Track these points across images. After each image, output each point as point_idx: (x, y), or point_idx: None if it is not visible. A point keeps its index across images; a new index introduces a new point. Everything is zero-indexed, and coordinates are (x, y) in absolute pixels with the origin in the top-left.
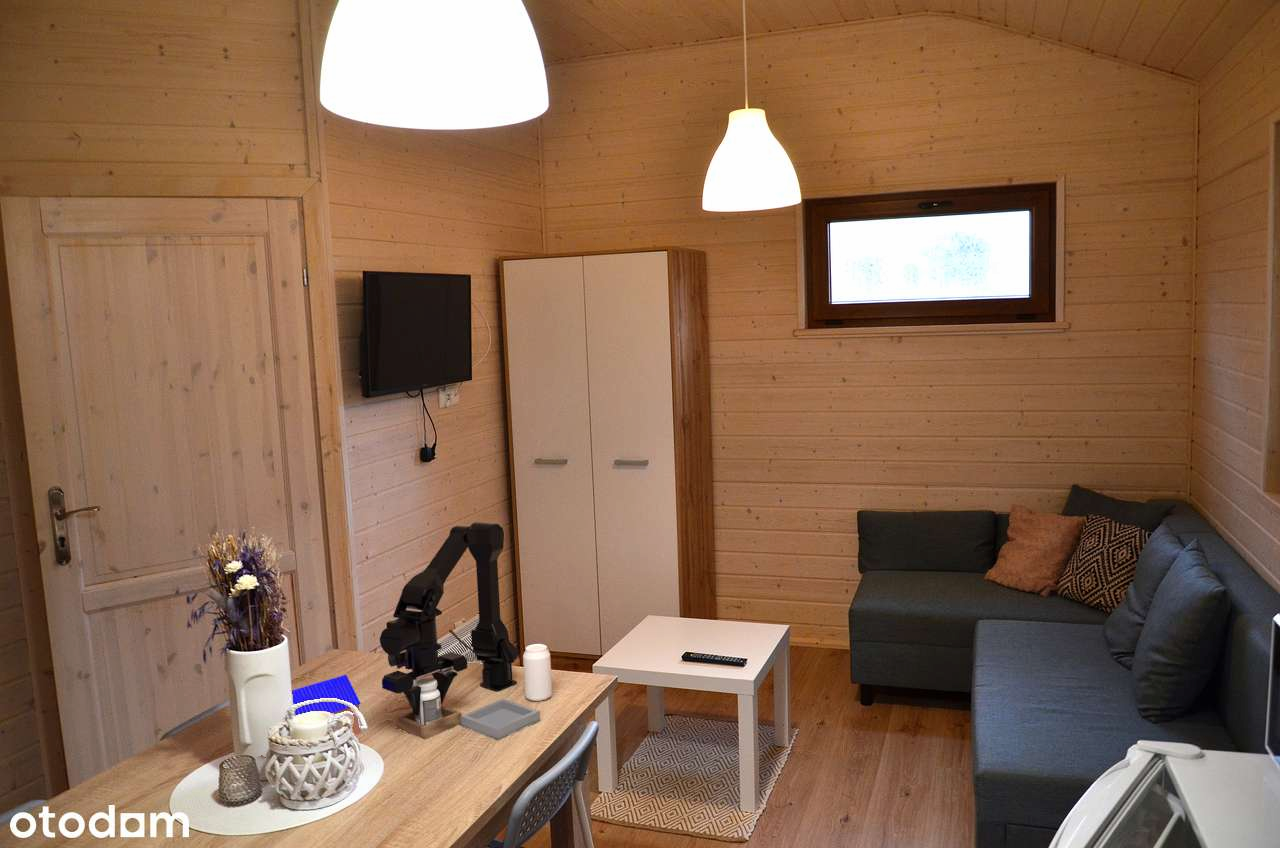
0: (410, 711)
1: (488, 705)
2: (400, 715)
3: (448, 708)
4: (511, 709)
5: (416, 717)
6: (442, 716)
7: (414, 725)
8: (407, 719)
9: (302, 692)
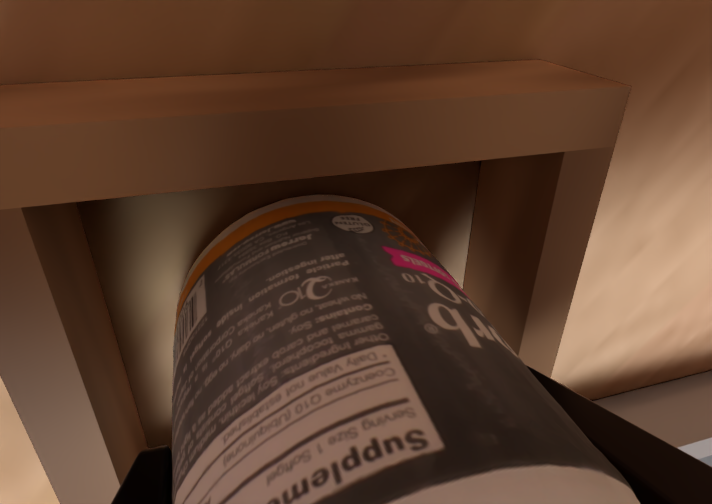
0: (244, 124)
1: (691, 451)
2: (18, 144)
3: (548, 360)
4: (704, 462)
5: (172, 402)
6: (481, 273)
7: (65, 500)
8: (53, 354)
9: None
